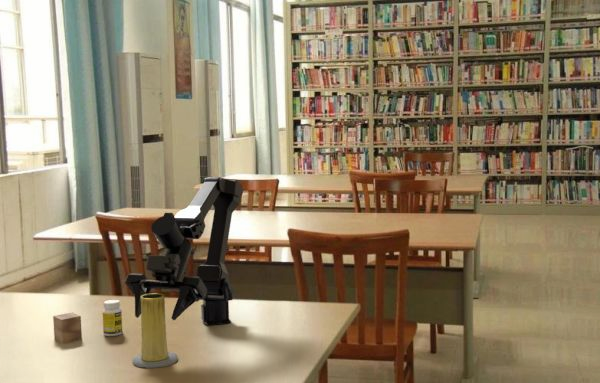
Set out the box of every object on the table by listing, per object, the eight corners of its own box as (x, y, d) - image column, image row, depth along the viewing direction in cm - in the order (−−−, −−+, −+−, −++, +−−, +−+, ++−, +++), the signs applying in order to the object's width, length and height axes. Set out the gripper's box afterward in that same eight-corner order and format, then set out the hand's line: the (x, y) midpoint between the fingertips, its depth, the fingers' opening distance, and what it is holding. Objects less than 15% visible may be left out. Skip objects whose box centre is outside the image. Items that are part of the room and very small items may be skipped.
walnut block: (73, 335, 190) (72, 312, 189) (81, 339, 186) (80, 315, 186) (54, 339, 187) (53, 315, 186) (62, 343, 183) (61, 319, 182)
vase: (170, 353, 171) (168, 292, 170) (166, 361, 165) (163, 298, 164) (144, 353, 171) (141, 292, 170) (138, 362, 165) (135, 299, 164)
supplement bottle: (117, 336, 187) (116, 304, 187) (100, 336, 188) (98, 303, 188) (125, 331, 192) (124, 299, 191) (108, 330, 193) (107, 299, 192)
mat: (173, 351, 175) (173, 349, 175) (181, 364, 165) (181, 361, 165) (129, 357, 171) (129, 354, 171) (135, 370, 162) (135, 367, 162)
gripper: (126, 239, 174) (103, 297, 165) (199, 241, 168) (179, 302, 159) (145, 265, 182) (123, 322, 173) (215, 268, 176) (196, 327, 167)
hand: (154, 318), depth 168 cm, fingers open, 9 cm apart
